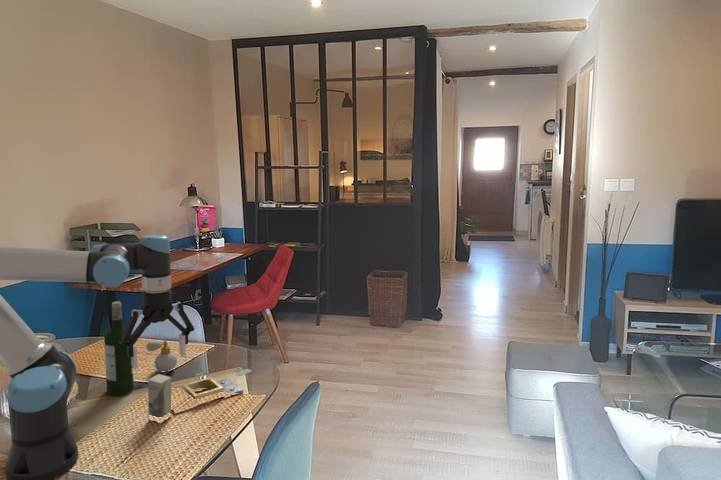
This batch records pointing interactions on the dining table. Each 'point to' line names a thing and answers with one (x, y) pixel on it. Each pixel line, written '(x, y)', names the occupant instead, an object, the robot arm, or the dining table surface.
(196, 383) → the square hole socket
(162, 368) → the perfume bottle
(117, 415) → the dining table surface
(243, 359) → the dining table surface
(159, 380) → the box
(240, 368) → the mounting bracket
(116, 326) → the wine bottle
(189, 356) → the dining table surface
